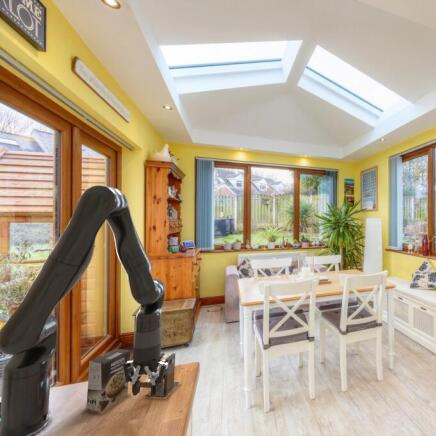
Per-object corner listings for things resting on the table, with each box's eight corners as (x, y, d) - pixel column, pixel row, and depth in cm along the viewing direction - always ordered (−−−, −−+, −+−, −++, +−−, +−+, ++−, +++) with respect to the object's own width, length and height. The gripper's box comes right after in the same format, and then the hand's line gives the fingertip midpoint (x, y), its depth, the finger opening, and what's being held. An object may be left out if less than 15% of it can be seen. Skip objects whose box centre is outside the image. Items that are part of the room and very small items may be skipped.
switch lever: (151, 390, 83) (150, 384, 83) (136, 389, 83) (135, 383, 83) (174, 361, 95) (173, 355, 95) (160, 360, 95) (160, 355, 95)
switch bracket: (165, 399, 90) (167, 362, 90) (145, 398, 90) (147, 361, 90) (179, 385, 98) (180, 351, 98) (160, 384, 98) (162, 350, 98)
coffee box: (101, 415, 82) (104, 363, 82) (85, 411, 83) (88, 360, 83) (129, 396, 90) (131, 350, 91) (114, 393, 92) (116, 347, 92)
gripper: (116, 346, 81) (113, 401, 80) (162, 348, 80) (159, 403, 80) (134, 335, 88) (132, 385, 88) (176, 337, 88) (174, 387, 88)
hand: (145, 394), depth 84 cm, fingers closed on switch lever, 5 cm apart
